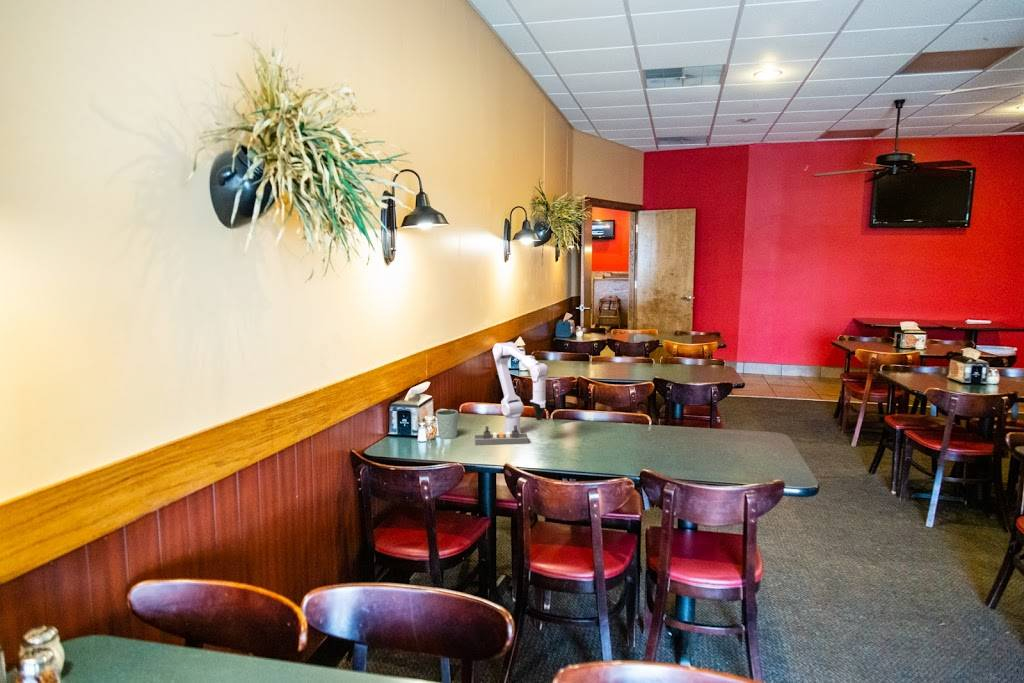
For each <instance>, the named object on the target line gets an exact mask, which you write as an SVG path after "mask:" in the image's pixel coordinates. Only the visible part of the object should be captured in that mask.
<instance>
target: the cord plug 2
mask: <svg viewBox="0 0 1024 683" xmlns="http://www.w3.org/2000/svg"><path fill="white" fill-rule="evenodd" d="M512 437H519V431H518V430H517V426H516V425H515V426H514V431H512Z"/></svg>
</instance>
